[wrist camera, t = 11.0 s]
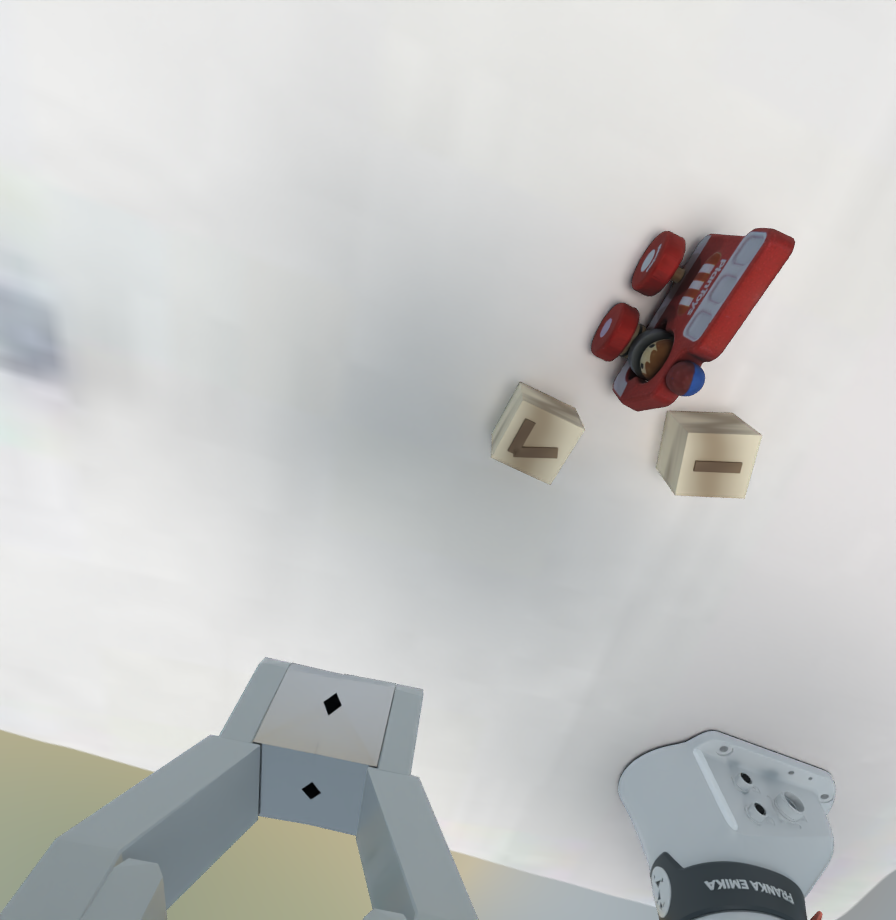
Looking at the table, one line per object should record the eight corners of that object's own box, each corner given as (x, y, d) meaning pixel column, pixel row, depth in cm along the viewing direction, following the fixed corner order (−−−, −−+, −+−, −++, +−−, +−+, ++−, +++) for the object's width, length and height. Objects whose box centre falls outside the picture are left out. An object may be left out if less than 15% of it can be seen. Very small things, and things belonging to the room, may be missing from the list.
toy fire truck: (573, 367, 40) (597, 409, 30) (668, 207, 35) (733, 197, 25) (649, 406, 40) (696, 459, 31) (754, 255, 35) (848, 262, 26)
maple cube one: (731, 412, 40) (763, 436, 35) (717, 470, 42) (745, 499, 37) (666, 410, 40) (689, 433, 36) (655, 467, 42) (675, 496, 38)
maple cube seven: (575, 407, 41) (585, 430, 36) (544, 458, 43) (550, 486, 38) (519, 381, 40) (523, 400, 36) (491, 433, 42) (491, 458, 38)
